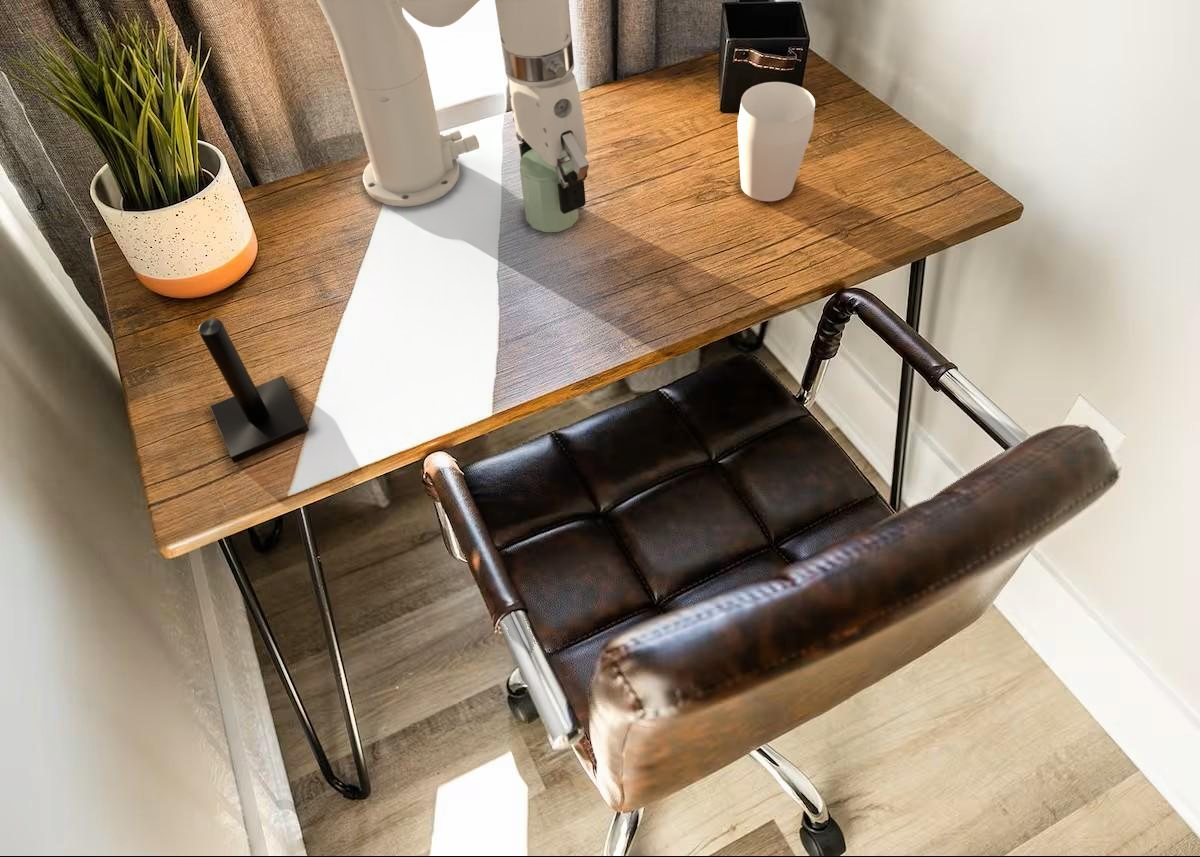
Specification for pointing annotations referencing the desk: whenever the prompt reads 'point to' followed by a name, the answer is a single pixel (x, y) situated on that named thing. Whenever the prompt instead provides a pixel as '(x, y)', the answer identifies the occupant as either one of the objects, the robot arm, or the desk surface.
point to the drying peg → (249, 401)
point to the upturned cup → (544, 194)
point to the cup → (773, 138)
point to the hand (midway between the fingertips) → (553, 188)
